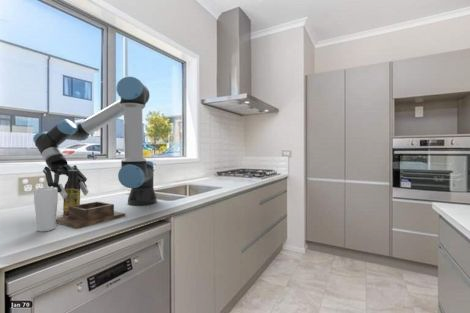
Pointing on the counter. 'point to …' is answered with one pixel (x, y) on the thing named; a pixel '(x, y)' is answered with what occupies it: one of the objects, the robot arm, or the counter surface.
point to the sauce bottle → (71, 191)
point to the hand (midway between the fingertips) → (76, 195)
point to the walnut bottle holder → (89, 214)
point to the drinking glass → (46, 208)
